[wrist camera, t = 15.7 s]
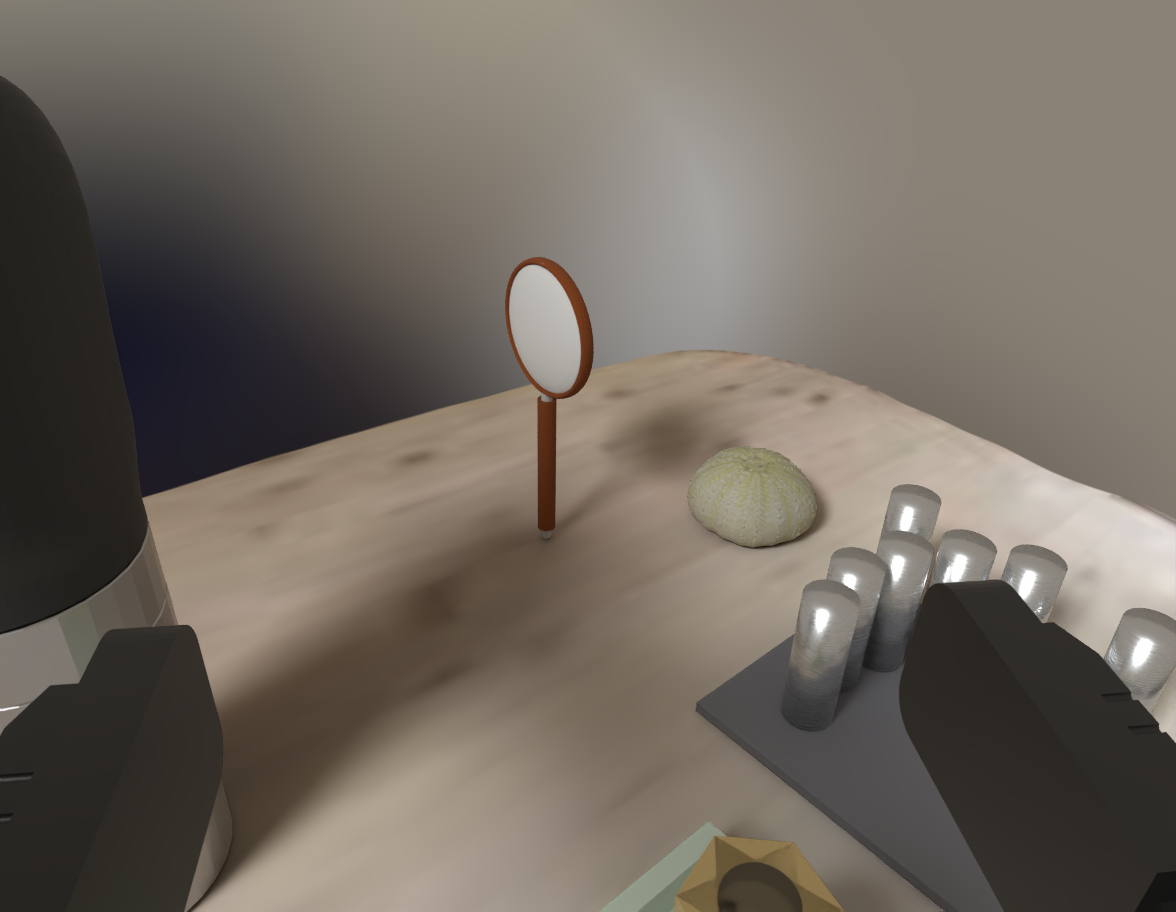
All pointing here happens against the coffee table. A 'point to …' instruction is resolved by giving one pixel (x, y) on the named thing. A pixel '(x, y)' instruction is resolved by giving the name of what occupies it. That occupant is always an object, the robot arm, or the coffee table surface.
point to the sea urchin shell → (752, 497)
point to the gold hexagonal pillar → (753, 880)
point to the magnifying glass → (548, 356)
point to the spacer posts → (892, 595)
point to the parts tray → (664, 876)
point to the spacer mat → (857, 774)
